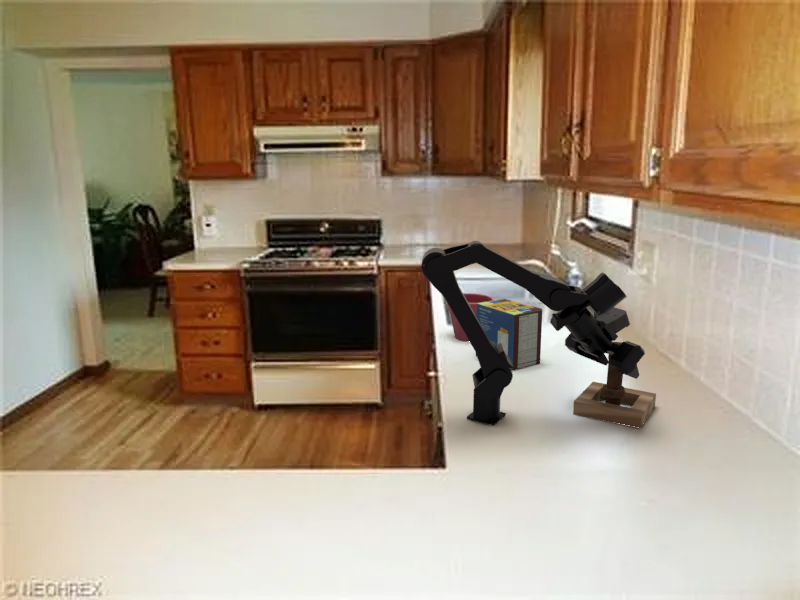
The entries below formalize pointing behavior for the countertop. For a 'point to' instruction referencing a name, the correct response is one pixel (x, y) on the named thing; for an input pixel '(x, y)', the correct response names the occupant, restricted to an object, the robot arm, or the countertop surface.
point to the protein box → (513, 329)
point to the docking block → (633, 416)
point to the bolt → (613, 384)
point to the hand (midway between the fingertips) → (621, 370)
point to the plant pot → (472, 301)
